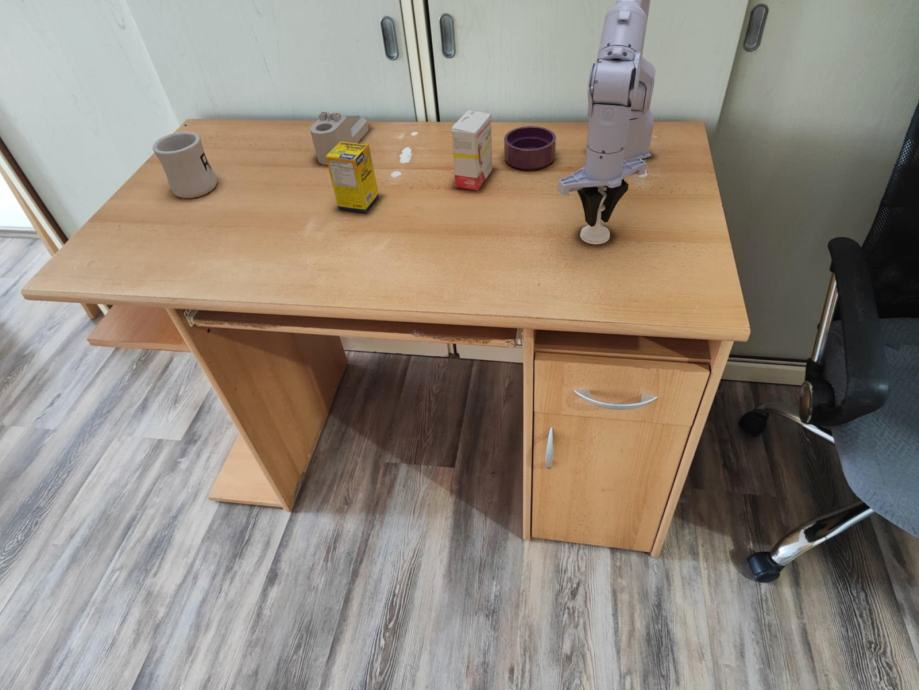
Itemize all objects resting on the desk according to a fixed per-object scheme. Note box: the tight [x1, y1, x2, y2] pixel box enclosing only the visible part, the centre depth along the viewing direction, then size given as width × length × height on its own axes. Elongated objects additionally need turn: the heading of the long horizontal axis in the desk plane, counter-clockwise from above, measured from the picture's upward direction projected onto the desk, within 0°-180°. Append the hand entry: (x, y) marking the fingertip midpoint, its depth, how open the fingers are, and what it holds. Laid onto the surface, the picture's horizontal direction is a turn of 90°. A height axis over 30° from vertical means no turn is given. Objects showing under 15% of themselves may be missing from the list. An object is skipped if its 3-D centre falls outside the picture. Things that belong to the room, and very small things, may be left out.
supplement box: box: [326, 141, 380, 214], centre depth 107 cm, size 6×6×11 cm
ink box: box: [451, 109, 493, 192], centre depth 111 cm, size 9×5×12 cm, turn 157°
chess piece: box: [579, 186, 611, 245], centre depth 96 cm, size 5×5×10 cm
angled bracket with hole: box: [309, 111, 370, 166], centre depth 126 cm, size 6×18×8 cm, turn 163°
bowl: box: [503, 125, 557, 171], centre depth 117 cm, size 10×10×4 cm
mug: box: [152, 131, 218, 199], centre depth 117 cm, size 12×9×10 cm
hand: (596, 221), depth 97 cm, fingers closed on chess piece
